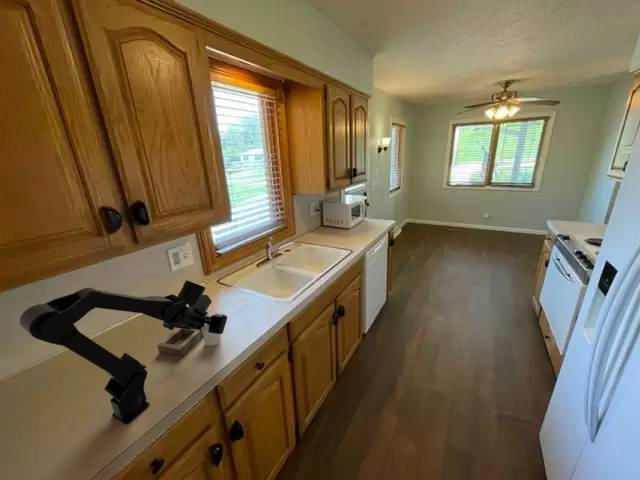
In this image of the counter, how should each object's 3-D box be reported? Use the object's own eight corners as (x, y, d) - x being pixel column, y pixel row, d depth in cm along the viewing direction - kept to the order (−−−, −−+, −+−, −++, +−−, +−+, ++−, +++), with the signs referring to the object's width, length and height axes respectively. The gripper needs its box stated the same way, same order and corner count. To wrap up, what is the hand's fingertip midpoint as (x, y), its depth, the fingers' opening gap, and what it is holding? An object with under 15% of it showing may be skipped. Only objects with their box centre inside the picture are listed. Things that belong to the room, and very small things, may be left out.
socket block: (182, 357, 94) (180, 349, 93) (159, 353, 97) (157, 345, 95) (203, 336, 105) (202, 328, 104) (182, 333, 107) (180, 325, 106)
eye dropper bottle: (211, 349, 98) (206, 320, 94) (203, 343, 101) (198, 315, 97) (222, 342, 101) (217, 314, 97) (214, 337, 104) (209, 309, 101)
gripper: (220, 294, 88) (241, 306, 102) (171, 289, 92) (198, 301, 106) (208, 330, 83) (232, 337, 97) (158, 323, 88) (187, 331, 101)
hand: (212, 325), depth 100 cm, fingers open, 6 cm apart
